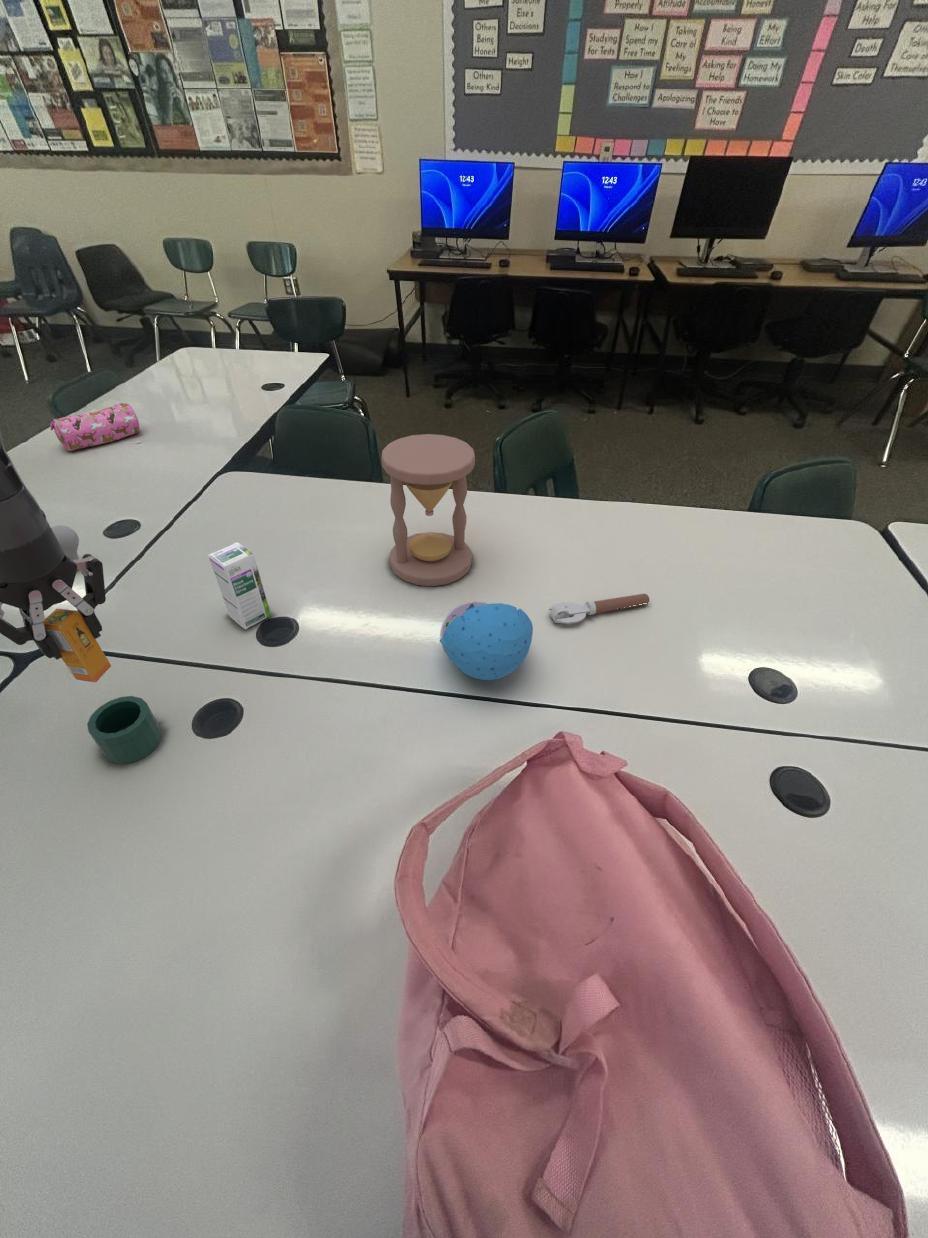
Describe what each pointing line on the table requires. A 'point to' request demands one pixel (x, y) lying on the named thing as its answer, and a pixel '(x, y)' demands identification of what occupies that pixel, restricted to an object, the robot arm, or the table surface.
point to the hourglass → (429, 506)
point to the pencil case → (96, 427)
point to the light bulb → (67, 540)
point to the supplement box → (76, 645)
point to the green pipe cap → (124, 729)
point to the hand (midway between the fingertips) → (75, 644)
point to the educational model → (486, 639)
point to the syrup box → (240, 584)
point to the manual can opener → (593, 607)
